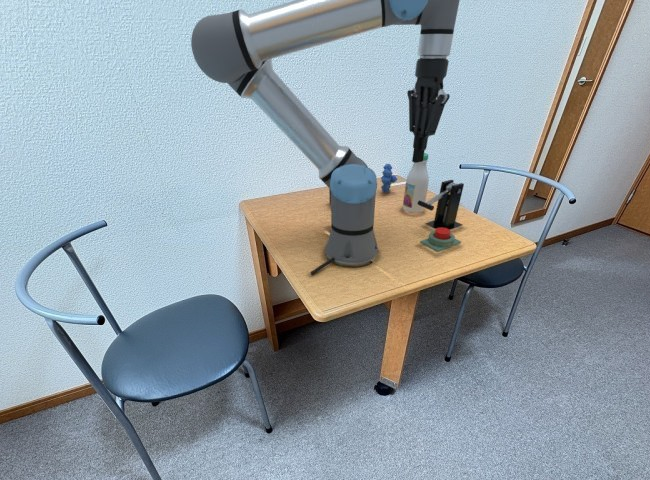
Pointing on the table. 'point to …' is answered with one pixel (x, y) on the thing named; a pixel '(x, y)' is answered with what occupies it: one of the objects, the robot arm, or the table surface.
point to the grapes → (387, 178)
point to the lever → (436, 198)
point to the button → (442, 233)
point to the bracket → (448, 207)
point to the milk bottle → (416, 186)
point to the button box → (440, 242)
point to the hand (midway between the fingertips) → (417, 161)
